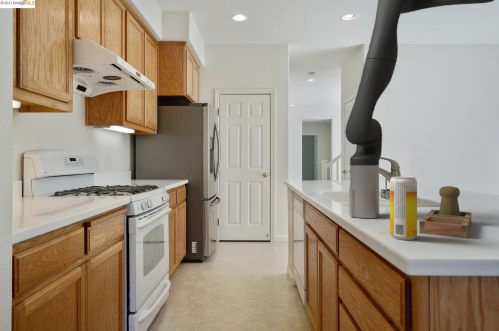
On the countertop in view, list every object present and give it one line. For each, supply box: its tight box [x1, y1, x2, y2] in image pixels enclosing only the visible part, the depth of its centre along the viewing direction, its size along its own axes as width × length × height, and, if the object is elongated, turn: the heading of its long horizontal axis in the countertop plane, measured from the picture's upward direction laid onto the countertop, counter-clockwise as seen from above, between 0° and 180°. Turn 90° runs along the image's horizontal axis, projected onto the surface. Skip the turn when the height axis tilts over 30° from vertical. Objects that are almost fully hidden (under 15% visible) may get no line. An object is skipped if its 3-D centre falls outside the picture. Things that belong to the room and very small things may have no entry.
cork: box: [438, 185, 461, 216], centre depth 97 cm, size 6×6×11 cm
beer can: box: [389, 175, 418, 241], centre depth 80 cm, size 6×6×15 cm
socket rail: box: [418, 209, 472, 239], centre depth 91 cm, size 23×10×3 cm, turn 144°
